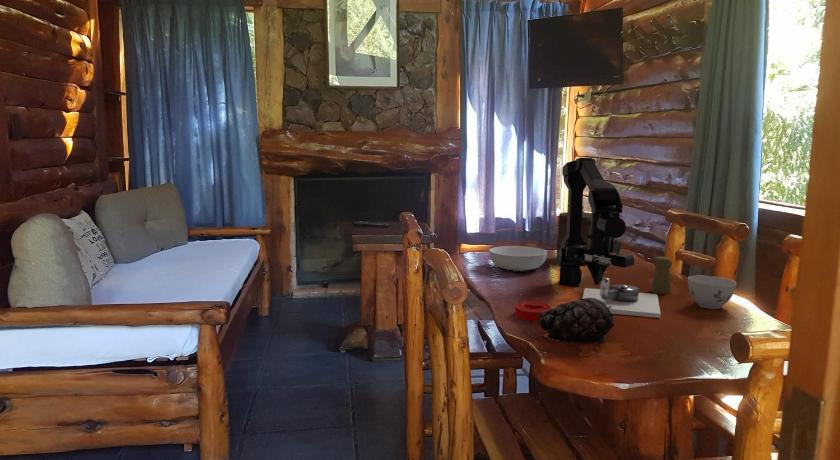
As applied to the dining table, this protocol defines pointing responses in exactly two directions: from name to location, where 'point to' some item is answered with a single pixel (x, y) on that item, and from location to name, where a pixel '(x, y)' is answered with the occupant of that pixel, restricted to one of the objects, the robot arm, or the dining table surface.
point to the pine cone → (578, 321)
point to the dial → (618, 291)
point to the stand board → (629, 304)
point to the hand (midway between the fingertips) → (597, 284)
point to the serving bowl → (517, 257)
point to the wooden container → (584, 232)
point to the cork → (662, 276)
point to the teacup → (711, 290)
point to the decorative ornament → (530, 310)
